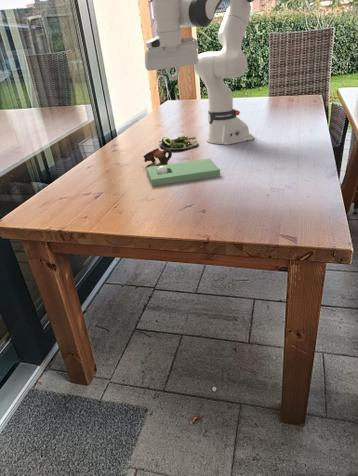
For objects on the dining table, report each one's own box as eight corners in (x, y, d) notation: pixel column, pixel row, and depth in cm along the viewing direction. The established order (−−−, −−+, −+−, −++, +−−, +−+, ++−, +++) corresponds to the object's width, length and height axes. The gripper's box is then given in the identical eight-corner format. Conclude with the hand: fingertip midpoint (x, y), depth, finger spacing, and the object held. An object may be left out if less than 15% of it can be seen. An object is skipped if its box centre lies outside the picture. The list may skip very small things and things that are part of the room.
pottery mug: (153, 172, 152) (143, 154, 151) (149, 176, 161) (139, 158, 160) (178, 159, 155) (168, 141, 154) (172, 163, 164) (163, 146, 163)
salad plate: (186, 138, 193) (186, 128, 190) (207, 145, 179) (207, 135, 177) (154, 146, 184) (153, 136, 182) (173, 154, 171) (172, 144, 169)
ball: (169, 172, 146) (162, 164, 146) (169, 170, 142) (162, 162, 142) (162, 179, 147) (155, 171, 147) (161, 177, 143) (154, 170, 143)
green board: (209, 164, 154) (209, 158, 153) (220, 175, 142) (219, 169, 141) (147, 173, 150) (146, 167, 149) (152, 186, 138) (151, 179, 137)
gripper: (194, 36, 142) (197, 75, 150) (141, 43, 140) (146, 82, 147) (199, 37, 137) (201, 77, 144) (143, 44, 134) (149, 85, 142)
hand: (173, 80), depth 146 cm, fingers closed
